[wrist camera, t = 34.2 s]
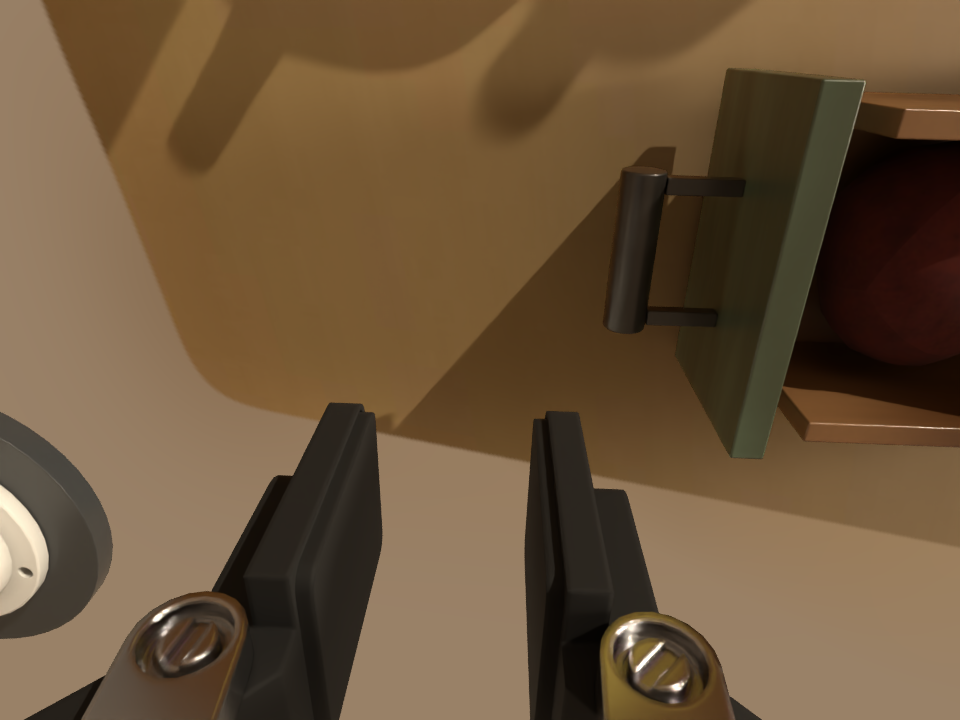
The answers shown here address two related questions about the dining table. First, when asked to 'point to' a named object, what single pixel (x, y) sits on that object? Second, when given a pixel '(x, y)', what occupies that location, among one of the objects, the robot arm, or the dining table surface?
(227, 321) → the dining table surface
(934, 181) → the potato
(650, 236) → the drawer
